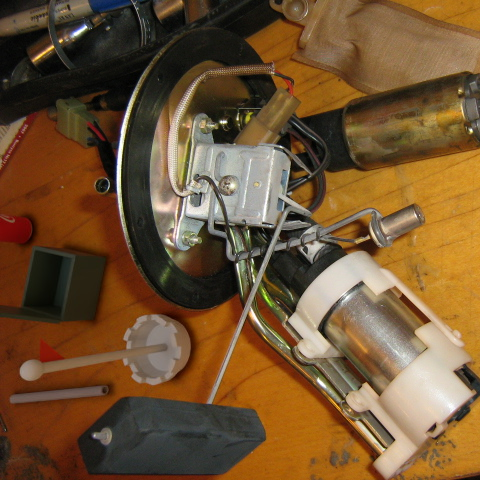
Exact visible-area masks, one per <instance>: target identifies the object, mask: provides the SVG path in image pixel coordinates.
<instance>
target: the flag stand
mask: <svg viewBox="0 0 480 480" xmlns="http://www.w3.org/2000/svg"><path fill="white" fill-rule="evenodd" d="M135 319H136V321H135V323H134V325H133V326H131V327H127V329H126V331H125V333H124V335H123V339H122V340H123V341H125V342H126V346H125V347H126V348H125V349H120V350H115V351H114V350H113V351H108V352H102V353H95V354H90V355H82V356H76V357H71V358H65V357H64V356H63V355H61V353H59V352H57V351H56V350H55V349H54V348H53V347H52V346H50V345H49V344H48V343H47V342H45V340H43V339H42V338H39V341H40V342H39V359H35V358H34V359H33V358H32V359H29V360H26V361H24V362H23V363H22V365H21V366H20V368H19V375H20V377H21V378H22V379H23V380H24V381H29V382H33V381H37V380H38V379H40V378H41V377H42V376H43V374H48V373H53V372H59V371H65V370H70V369H75V368H80V367H86V366H87V367H88V366H91V365H92V366H93V365H97V364H102V363H107V362H113V361H118V360H119V361H120V360H122V362H123V365H124V367H127V366H129V368H130V370H131V372H132V374H131V376H130V377H131V379H133V380H134V381H135V382H136V383H139V384H140V385H141V384H144V383H145V384H149V385H150V386H156V385H160V384H163V383H166V382H168V381H170V380H172V379H173V378H174V377H176V375H177V374H178V373H179V372H180V371H182V370H183V369H184V368H185V366H186V365H187V363H188V361H189V358H190V356H191V347H192V346H191V345H192V344H191V343H192V342H191V338H190V335H189V332H188V331H187V329H186V328H185V326H184V325H183V324H182V323H181V322H179V321H178V320H176V319H173V318H171V317H169V316H167V315H165V314H161V313H160V314H159V313H155V314H153V313H152V314H145V315H141V316H139V317H138V318H135Z"/></svg>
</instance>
